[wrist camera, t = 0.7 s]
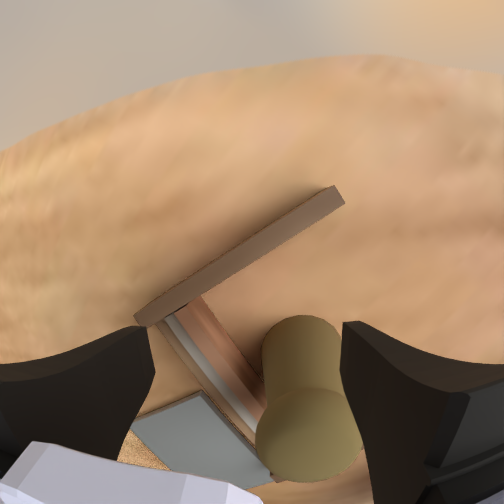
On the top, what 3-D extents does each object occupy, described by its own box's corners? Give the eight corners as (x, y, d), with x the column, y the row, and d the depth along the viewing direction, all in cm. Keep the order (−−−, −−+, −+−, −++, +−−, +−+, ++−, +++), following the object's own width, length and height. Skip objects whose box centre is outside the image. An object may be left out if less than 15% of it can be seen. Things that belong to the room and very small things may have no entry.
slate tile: (279, 473, 24) (278, 479, 23) (206, 493, 26) (204, 498, 25) (202, 390, 23) (199, 395, 22) (130, 420, 25) (126, 424, 24)
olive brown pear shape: (297, 399, 23) (300, 510, 12) (243, 350, 22) (213, 456, 11) (358, 353, 21) (402, 454, 11) (306, 297, 21) (324, 385, 10)
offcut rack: (430, 383, 21) (443, 402, 18) (278, 460, 24) (276, 483, 21) (327, 187, 20) (334, 184, 17) (150, 302, 22) (133, 315, 19)
